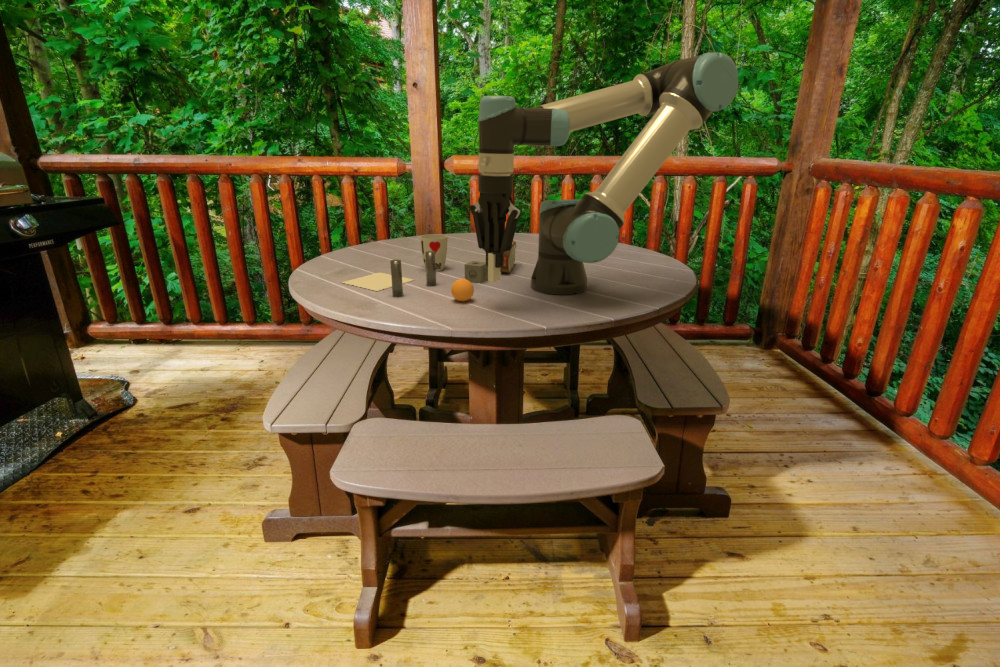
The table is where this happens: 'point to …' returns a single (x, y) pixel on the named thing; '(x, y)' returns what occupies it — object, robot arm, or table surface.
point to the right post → (430, 268)
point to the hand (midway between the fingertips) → (493, 280)
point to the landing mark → (375, 281)
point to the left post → (396, 278)
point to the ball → (462, 290)
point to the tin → (508, 259)
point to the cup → (435, 248)
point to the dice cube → (476, 272)
